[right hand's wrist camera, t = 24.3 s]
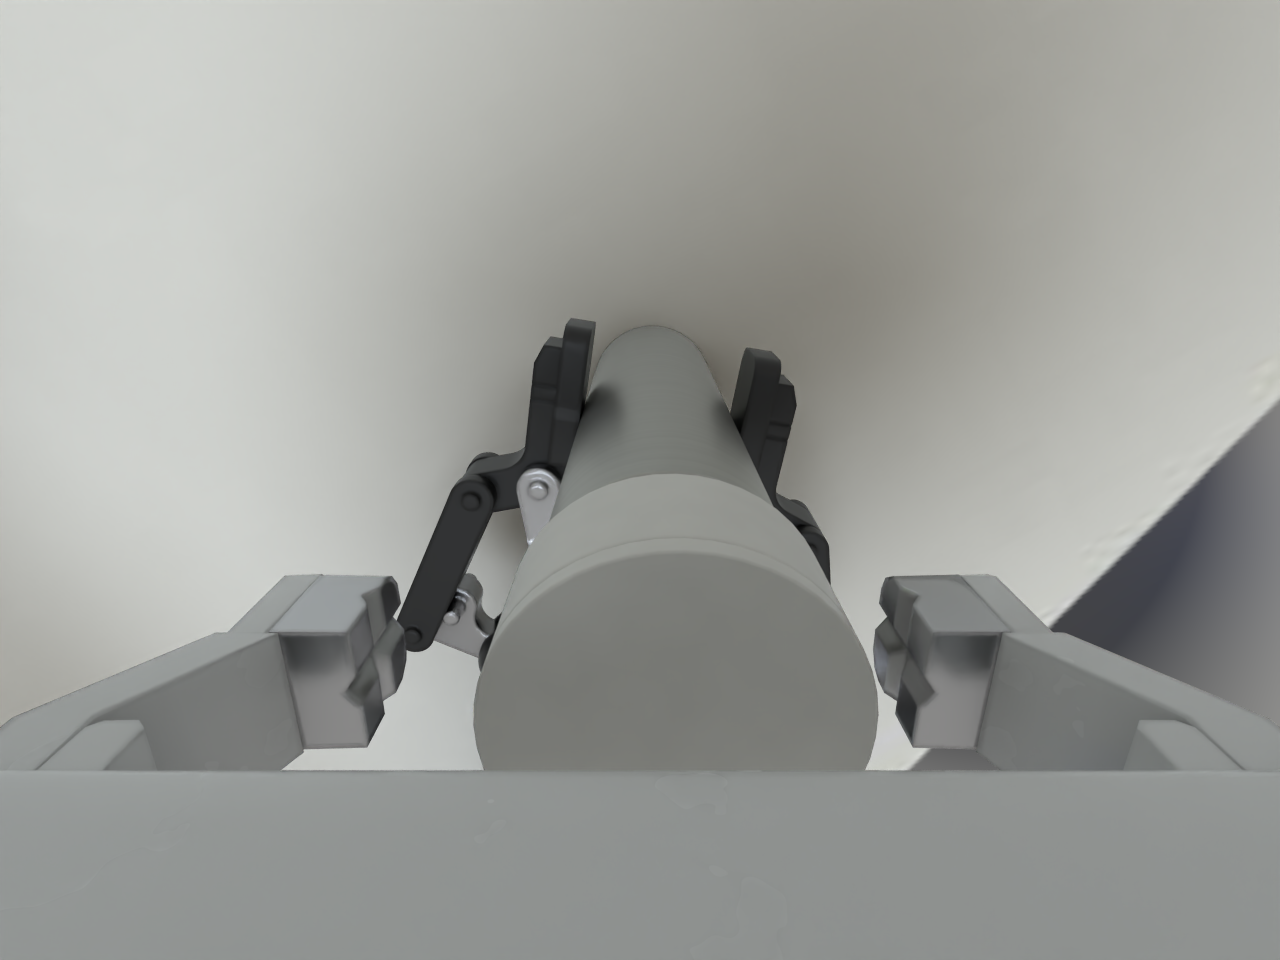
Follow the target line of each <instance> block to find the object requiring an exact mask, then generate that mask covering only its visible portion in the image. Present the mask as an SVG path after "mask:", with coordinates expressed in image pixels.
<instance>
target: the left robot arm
mask: <svg viewBox="0 0 1280 960" xmlns="http://www.w3.org/2000/svg"><path fill="white" fill-rule="evenodd" d="M595 326H596V322H592V321H586V320H580V319H574V318H571V319H570V320H569V321H568V323H567V324H566V326H565V330H564V336H563V338H557V337H550V338H549V339H548V340H547V342H546V343H545V344H544V346H543V348H542V349H541V351H540V353H539V355H538V357H537V358H536V360H535V362H534V369H533V378H532V388H531V397H530V398H531V399H530V407H529V416H528V425H527V435H526V444H525V447H524V448H523V449H522V450H520V451H518V452H515V453H511V454H505V455H500V456H499V455H497V454H495V453H491V452H486V453H481V454H479V455H477V456H476V457H475V458H474V459H473V460H472V462H471V463H470V465H469V466H468V468H467V471H466V473H465V475H464V476H463V477H462V478H461V479H460V480H459V481H458V482H457V483H456V484H455V486H454V487H453V489H452V490H451V492H450V495H449V497H448V499H447V502H446V504H445V507H444V509H443V511H442V514H441V516H440V519H439V521H438V523H437V526H436V528H435V530H434V533H433V535H432V538H431V540H430V542H429V545H428V547H427V550H426V552H425V554H424V557H423V559H422V561H421V564H420V566H419V569H418V571H417V573H416V576H415V578H414V580H413V583H412V585H411V588H410V590H409V592H408V595H407V597H406V600H405V602H404V604H403V607H402V609H401V611H400V614H399V616H398V619H397V622H398V623H399V624H400V625H401V626H402V627H403V628H404V629H405V636H406V650H408V651H411V652H420V651H423V650H426V649H427V648H429V647H430V646H431V644H432V642H433V640H435V641H437V642H440V643H442V644H445V645H447V646H450V647H452V648H455V649H457V650H460V651H462V652H465V653H467V654H470V655H472V656H475V657H478V662H479V668H480V671H482V668H483V665H484V662H485V659H486V656H487V654H488V651H489V648H490V645H491V642H492V640H493V637H494V634H495V631H496V628H497V626H498V623H499V620H500V617H501V614H502V613H501V614H499V615H498V616H497V617H496V618H495V619H492V618H490V617H489V616H488V615H487V614H486V613H485V612H484V610H483V608H482V604H481V601H482V597H483V588H482V586H481V584H480V582H479V581H478V580H477V578H476V577H475V576H474V575H473V574H470V573H467V574H465V573H466V571H467V569H468V567H469V565H470V562H471V560H472V558H473V556H474V553H475V551H476V549H477V547H478V544H479V542H480V540H481V538H482V536H483V533H484V531H485V529H486V527H487V524H488V522H489V520H490V518H491V515H492V513H493V512H498V511H503V510H509V509H515V508H520V509H521V514H522V519H523V523H524V528H525V533H526V537H527V542H528V547H529V546H530V544H531V543H532V542H533V540H534V539H535V537H536V536H537V535H538V533H539V532H540V531H541V530H542V529H543V528H544V527H545V526H546V525H547V524H548V523H549V520H550V517H551V514H552V510H553V507H554V504H555V501H556V498H557V494H558V491H559V488H560V485H561V481H562V478H563V475H564V472H565V468H566V465H567V462H568V459H569V455H570V452H571V449H572V446H573V442H574V439H575V436H576V433H577V429H578V426H579V423H580V420H581V417H582V413H583V410H584V407H585V401H586V394H587V386H588V379H589V372H590V364H591V357H592V350H593V342H594V335H595ZM796 406H797V405H796V398H795V391H794V386H793V385H792V384H791V383H790V381H789V380H788V379H787V378H786V377H785V376H784V375H781V361H780V360H779V359H778V358H777V357H776V356H775V355H774V354H773V353H772V352H771V351H765V350H759V349H753V348H746V349H745V351H744V354H743V358H742V362H741V366H740V371H739V375H738V380H737V385H736V389H735V394H734V399H733V403H732V408H731V413H730V415H731V417H732V419H733V421H734V423H735V425H736V428H737V430H738V432H739V434H740V436H741V438H742V440H743V443H744V445H745V447H746V449H747V451H748V453H749V455H750V458H751V460H752V462H753V464H754V466H755V468H756V470H757V473H758V475H759V477H760V479H761V481H762V483H763V485H764V488H765V490H766V492H767V494H768V496H769V498H770V500H771V503H772V505H773V507H774V508H776V509H777V510H778V511H779V512H780V513H781V514H783V515H784V516H785V517H786V518H787V519H788V520H789V521H790V522H791V523H792V524H793V525H794V526H795V527H796V529H797V530H798V531H799V532H800V534H801V535H802V536H803V537H804V538H805V540H806V542H807V543H808V545H809V547H810V548H811V550H812V552H813V553H814V555H815V557H816V559H817V561H818V563H819V565H820V567H821V568H822V570H823V572H824V574H825V576H826V578H827V580H828V582H829V584H830V586H831V582H830V558H829V545H828V543H827V541H826V539H825V537H824V536H823V534H822V532H821V530H820V529H819V527H818V525H817V524H816V522H815V520H814V518H813V517H812V515H811V513H810V512H809V510H808V508H807V507H806V505H805V504H803V503H802V502H800V501H798V500H789V499H787V498H785V497H783V496H781V495H779V494H778V493H776V486H777V482H778V478H779V474H780V470H781V466H782V462H783V458H784V454H785V450H786V446H787V440H788V438H789V434H790V430H791V424H792V422H793V418H794V414H795V410H796Z"/></svg>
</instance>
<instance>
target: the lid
mask: <svg viewBox="0 0 1280 960" xmlns="http://www.w3.org/2000/svg"><path fill="white" fill-rule="evenodd" d="M877 722H878V699H877V689H876V685H875V680H874V676H873V671H872V669H871V666H870V664H869V661H868V659H867V656H866V654H865V651H864V649H863V647H862V645H861V643H860V641H859V639H858V637H857V636H856V634H855V632H854V630H853V628H852V626H851V624H850V622H849V620H848V618H847V616H846V614H845V612H844V611H843V609H842V607H841V605H840V603H839V601H838V599H837V597H836V595H835V593H834V591H833V589H832V588H831V586H830V584H829V582H828V580H827V578H826V576H825V574H824V572H823V570H822V568H821V567H820V565H819V563H818V561H817V559H816V557H815V555H814V553H813V552H812V550H811V548H810V547H809V545H808V543H807V542H806V540H805V538H804V537H803V536H802V535H801V534H800V532H799V531H798V530H797V529H796V527H795V526H794V525H793V524H792V523H791V522H790V521H789V520H788V519H787V518H786V517H785V516H784V515H783V514H781V513H780V512H779V511H778V510H777V509H776V508H774V507H773V506H771V505H770V504H768V503H767V502H766V501H764V500H763V499H761V498H760V497H758V496H756V495H754V494H752V493H750V492H748V491H746V490H744V489H742V488H740V487H737V486H734V485H731V484H729V483H726V482H723V481H720V480H716V479H711V478H707V477H702V476H696V475H685V474H652V475H646V476H640V477H633V478H629V479H625V480H622V481H618V482H615V483H611V484H608V485H606V486H604V487H601V488H599V489H597V490H594V491H592V492H590V493H588V494H586V495H585V496H583V497H581V498H579V499H578V500H576V501H574V502H573V503H571V504H570V505H568V506H567V507H566V508H565V509H563V510H562V511H561V512H559V513H558V514H557V515H556V516H554V517H553V518H552V519H551V520H550V521H549V523H548V524H547V525H546V526H545V527H544V528H543V529H542V530H541V531H540V532H539V533H538V535H537V536H536V537H535V539H534V540H533V542H532V543H531V544H530V546H529V547H528V549H527V551H526V553H525V555H524V557H523V558H522V560H521V562H520V564H519V567H518V570H517V572H516V575H515V578H514V581H513V584H512V586H511V589H510V592H509V595H508V598H507V600H506V603H505V606H504V609H503V612H502V614H501V617H500V620H499V623H498V626H497V628H496V631H495V634H494V637H493V640H492V642H491V645H490V648H489V651H488V654H487V656H486V659H485V662H484V665H483V668H482V671H481V674H480V676H479V679H478V683H477V688H476V694H475V700H474V732H475V738H476V745H477V749H478V752H479V755H480V759H481V762H482V765H483V768H484V770H865V769H866V766H867V764H868V762H869V759H870V757H871V753H872V749H873V746H874V742H875V738H876V731H877Z"/></svg>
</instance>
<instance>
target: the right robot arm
mask: <svg viewBox="0 0 1280 960" xmlns="http://www.w3.org/2000/svg"><path fill="white" fill-rule="evenodd" d="M400 604H401V601H400V596H399V590H398V584H397V582H396V581H395V580H394V578H393V577H392V576H357V575H322V574H309V575H288V576H284V577H283V578H282V579H281V580H280V581H279V582H278V583H277V584H276V585H275V586H274V587H273V588H272V589H271V590H270V591H269V592H268V593H267V594H266V595H265V596H264V597H263V598H262V599H261V600H260V601H259V602H258V603H257V604H256V605H255V606H254V607H253V608H252V609H251V610H250V611H249V612H248V613H247V614H246V615H245V616H243V617H242V618H241V619H240V620H239V621H238V622H237V623H236V624H235V625H234V626H233V627H232V628H231V629H230V630H229V631H228V632H227V633H214V634H211V635H209V636H207V637H204V638H202V639H199V640H197V641H195V642H192V643H190V644H187V645H185V646H183V647H180V648H178V649H175V650H173V651H171V652H168V653H166V654H164V655H161V656H159V657H156V658H154V659H152V660H149V661H147V662H144V663H142V664H140V665H137V666H135V667H132V668H130V669H128V670H125V671H123V672H120V673H118V674H116V675H113V676H111V677H108V678H106V679H104V680H101V681H99V682H96V683H94V684H92V685H89V686H87V687H84V688H82V689H80V690H77V691H75V692H72V693H70V694H68V695H65V696H63V697H60V698H58V699H56V700H53V701H51V702H48V703H46V704H44V705H41V706H39V707H36V708H34V709H32V710H29V711H27V712H24V713H22V714H20V715H17V716H15V717H13V718H11V719H10V720H9V721H8V722H6V723H5V724H4V725H2V726H1V727H0V960H1280V727H1279V726H1278V725H1277V724H1275V723H1274V722H1273V721H1272V720H1270V719H1269V718H1267V717H1265V716H1262V715H1260V714H1257V713H1255V712H1253V711H1250V710H1248V709H1245V708H1243V707H1241V706H1238V705H1236V704H1234V703H1231V702H1229V701H1226V700H1224V699H1221V698H1219V697H1217V696H1214V695H1212V694H1210V693H1207V692H1205V691H1202V690H1200V689H1198V688H1195V687H1193V686H1190V685H1188V684H1186V683H1183V682H1181V681H1178V680H1176V679H1174V678H1171V677H1169V676H1167V675H1164V674H1162V673H1159V672H1157V671H1155V670H1152V669H1150V668H1147V667H1145V666H1143V665H1140V664H1138V663H1135V662H1133V661H1131V660H1128V659H1126V658H1124V657H1121V656H1119V655H1116V654H1114V653H1112V652H1109V651H1107V650H1104V649H1102V648H1100V647H1097V646H1095V645H1092V644H1090V643H1088V642H1085V641H1083V640H1080V639H1078V638H1076V637H1073V636H1071V635H1068V634H1066V633H1053V632H1052V631H1051V630H1050V629H1049V628H1048V627H1047V626H1046V625H1045V624H1044V623H1043V622H1042V621H1041V620H1040V619H1039V618H1038V617H1037V616H1036V615H1035V614H1034V613H1033V612H1032V611H1031V610H1030V609H1029V608H1028V607H1026V606H1025V605H1024V604H1023V603H1022V602H1021V601H1020V600H1019V599H1018V598H1017V597H1016V596H1015V595H1014V594H1013V593H1012V592H1011V591H1010V590H1009V589H1008V588H1007V587H1006V586H1005V585H1004V584H1003V583H1002V582H1001V581H1000V580H999V579H998V578H997V577H996V576H993V575H989V574H977V575H926V576H892V577H887V578H885V581H884V583H883V586H882V588H881V595H880V601H879V604H880V605H881V607H882V609H883V610H884V612H885V614H886V615H887V618H886V619H885V620H884V621H883V622H882V623H881V624H880V625H879V626H878V627H877V628H876V629H875V638H874V647H873V652H874V664H875V670H876V674H877V677H878V681H879V683H880V685H881V687H882V689H883V691H884V693H886V694H887V695H889V696H890V697H892V698H893V699H895V700H896V701H897V706H896V712H895V714H896V716H897V718H898V720H899V722H900V724H901V726H902V728H903V730H904V731H905V733H906V735H907V737H908V739H909V741H910V743H911V745H912V747H913V748H950V749H977V750H976V752H977V753H978V754H979V755H981V756H982V757H983V758H985V759H986V760H987V761H989V762H990V763H991V764H992V765H994V766H995V767H996V768H998V769H999V770H281V769H283V768H284V767H285V766H287V765H288V764H289V763H290V762H292V761H293V760H294V759H296V758H297V757H298V756H300V755H301V754H302V753H303V752H304V751H303V749H329V748H365V747H368V745H369V743H370V741H371V739H372V737H373V735H374V733H375V731H376V730H377V728H378V726H379V724H380V722H381V720H382V718H383V716H384V714H385V712H384V706H383V701H384V700H385V699H387V698H388V697H390V696H391V695H393V694H394V693H396V691H397V689H398V687H399V685H400V683H401V681H402V678H403V673H404V669H405V664H406V636H405V629H404V628H403V627H402V626H401V625H400V624H399V623H398V622H397V621H396V620H395V619H394V618H393V615H394V614H395V612H396V610H397V609H398V607H399V605H400Z"/></svg>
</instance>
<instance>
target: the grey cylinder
mask: <svg viewBox="0 0 1280 960" xmlns="http://www.w3.org/2000/svg"><path fill="white" fill-rule="evenodd" d="M652 474H685V475H696V476H702V477H707V478H711V479H716V480H720V481H723V482H726V483H729V484H731V485H734V486H737V487H740V488H742V489H744V490H746V491H748V492H750V493H752V494H754V495H756V496H758V497H760V498H761V499H763V500H764V501H766V502H767V503H768V504H770V505H771V506H773V505H772V503H771V500H770V498H769V496H768V494H767V492H766V490H765V488H764V485H763V483H762V481H761V479H760V477H759V475H758V473H757V470H756V468H755V466H754V464H753V462H752V460H751V458H750V455H749V453H748V451H747V449H746V447H745V445H744V443H743V440H742V438H741V436H740V434H739V432H738V430H737V428H736V425H735V423H734V421H733V419H732V417H731V415H730V413H729V410H728V408H727V406H726V404H725V402H724V400H723V398H722V395H721V393H720V391H719V389H718V387H717V385H716V383H715V380H714V378H713V376H712V374H711V372H710V370H709V368H708V365H707V363H706V361H705V359H704V357H703V355H702V353H701V352H700V351H699V349H698V348H697V346H696V345H695V344H694V343H693V342H692V341H691V340H689V339H688V338H687V337H686V336H684V335H683V334H681V333H679V332H677V331H675V330H672V329H669V328H666V327H660V326H645V327H639V328H635V329H632V330H630V331H627V332H625V333H624V334H622V335H620V336H619V337H618V338H616V339H615V340H614V341H613V342H612V343H611V344H610V345H609V346H608V347H607V348H606V350H605V351H604V352H603V354H602V356H601V358H600V360H599V362H598V365H597V368H596V371H595V374H594V378H593V381H592V384H591V387H590V391H589V394H588V397H587V400H586V404H585V407H584V410H583V413H582V417H581V420H580V423H579V426H578V429H577V433H576V436H575V439H574V442H573V446H572V449H571V452H570V455H569V459H568V462H567V465H566V468H565V472H564V475H563V478H562V481H561V485H560V488H559V491H558V494H557V498H556V501H555V504H554V507H553V510H552V514H551V517H550V520H551V519H552V518H553V517H554V516H556V515H557V514H558V513H559V512H561V511H562V510H563V509H565V508H566V507H567V506H568V505H570V504H571V503H573V502H574V501H576V500H578V499H579V498H581V497H583V496H585V495H586V494H588V493H590V492H592V491H594V490H597V489H599V488H601V487H604V486H606V485H608V484H611V483H615V482H618V481H622V480H625V479H629V478H633V477H640V476H646V475H652ZM550 520H549V521H550Z"/></svg>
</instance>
